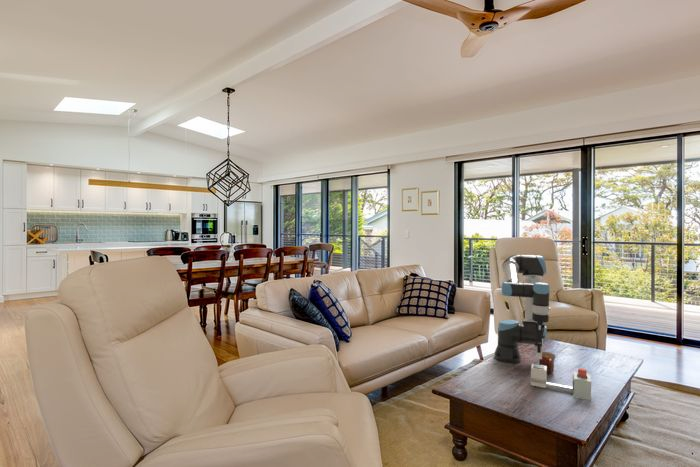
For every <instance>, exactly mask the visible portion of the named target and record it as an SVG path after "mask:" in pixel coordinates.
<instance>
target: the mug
mask: <svg viewBox="0 0 700 467" xmlns="http://www.w3.org/2000/svg"><path fill="white" fill-rule="evenodd" d="M555 359H556V354H554V353H552V352H548V351H542V359H538V360H539V361H538V364H539V365H545V366H547V376H549V375H553V374H554V372H555V371H554V370H555Z"/></svg>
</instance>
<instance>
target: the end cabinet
mask: <svg viewBox="0 0 700 467" xmlns="http://www.w3.org/2000/svg"><path fill="white" fill-rule="evenodd" d="M591 378H592V377H591V374H589V373H587V376H586V377H580V376H578V371H573V375H572V387H573V394H572V395H573V398H577V399H581V400H586V401H591V400H592V379H591Z"/></svg>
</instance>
